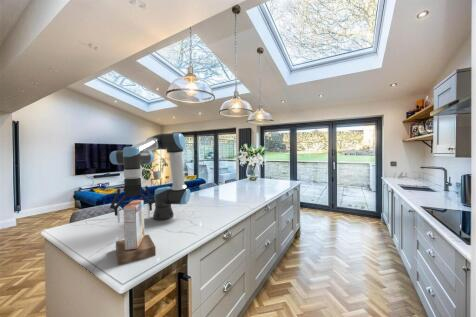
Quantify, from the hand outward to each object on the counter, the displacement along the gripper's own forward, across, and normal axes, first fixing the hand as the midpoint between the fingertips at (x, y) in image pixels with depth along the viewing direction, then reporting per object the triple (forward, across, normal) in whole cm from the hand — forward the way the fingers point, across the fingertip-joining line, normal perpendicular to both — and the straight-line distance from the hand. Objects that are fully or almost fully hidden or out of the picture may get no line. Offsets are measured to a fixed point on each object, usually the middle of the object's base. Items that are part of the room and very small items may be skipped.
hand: (134, 219), depth 105 cm
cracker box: (+13, 0, 0) cm, 13 cm away
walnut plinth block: (+18, 0, 0) cm, 18 cm away
